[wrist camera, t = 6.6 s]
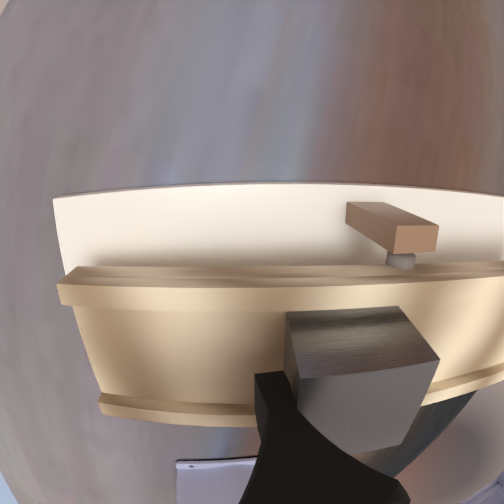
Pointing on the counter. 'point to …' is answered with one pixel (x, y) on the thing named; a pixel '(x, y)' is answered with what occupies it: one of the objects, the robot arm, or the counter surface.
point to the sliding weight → (358, 373)
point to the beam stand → (277, 225)
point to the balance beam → (266, 328)
